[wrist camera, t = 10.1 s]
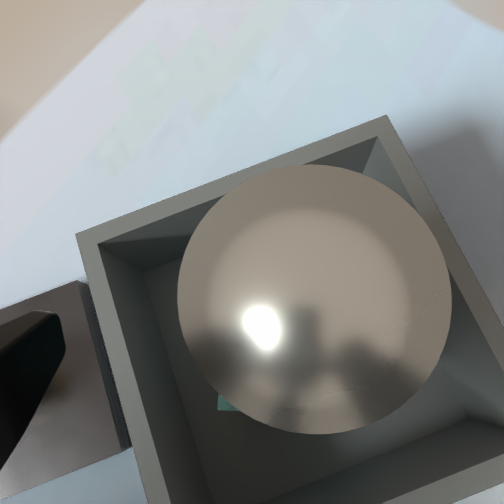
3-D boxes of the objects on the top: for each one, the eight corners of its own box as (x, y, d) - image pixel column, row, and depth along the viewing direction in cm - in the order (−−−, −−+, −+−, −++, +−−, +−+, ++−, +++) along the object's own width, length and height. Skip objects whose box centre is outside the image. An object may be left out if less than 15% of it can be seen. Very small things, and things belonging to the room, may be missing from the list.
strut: (351, 404, 16) (532, 511, 4) (235, 398, 16) (105, 481, 5) (348, 288, 17) (485, 121, 5) (240, 285, 17) (148, 124, 6)
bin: (484, 426, 16) (572, 453, 11) (211, 537, 15) (178, 615, 11) (360, 179, 19) (386, 114, 14) (130, 268, 18) (75, 233, 14)
